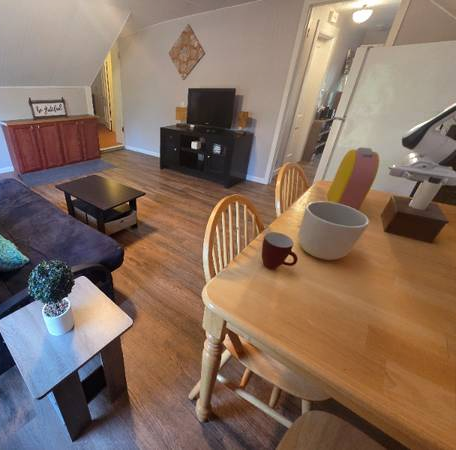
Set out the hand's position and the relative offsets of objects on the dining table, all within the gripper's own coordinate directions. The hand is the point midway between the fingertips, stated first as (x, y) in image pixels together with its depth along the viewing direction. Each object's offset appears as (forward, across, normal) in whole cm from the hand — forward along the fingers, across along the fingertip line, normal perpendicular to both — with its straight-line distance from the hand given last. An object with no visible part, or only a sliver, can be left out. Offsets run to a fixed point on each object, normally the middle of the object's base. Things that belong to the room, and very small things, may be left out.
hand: (426, 180), depth 93 cm
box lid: (+8, 0, +9) cm, 12 cm away
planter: (+44, -27, +18) cm, 54 cm away
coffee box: (+7, 0, +18) cm, 19 cm away
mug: (+61, -38, +18) cm, 74 cm away
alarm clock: (-3, -22, +18) cm, 28 cm away
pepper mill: (+7, 0, +8) cm, 11 cm away
